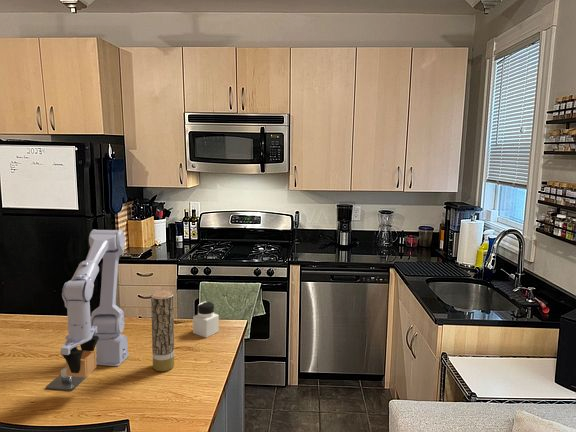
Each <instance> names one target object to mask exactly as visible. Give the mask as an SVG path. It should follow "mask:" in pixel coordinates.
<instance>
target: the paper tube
mask: <svg viewBox="0 0 576 432" xmlns="http://www.w3.org/2000/svg"><path fill="white" fill-rule="evenodd" d="M150 295H151V296H150V298H151V299H150V305H151V341H152V342H151V344H152V345H151V346H152V347H151V348H152V351H151V352H152V368H153V370H154V371H156V372H167V371H170V370H172V369H173V368H174V366H175V318H174V317H175V316H174V314H175V313H174V312H175V310H174V308H175V307H174V299H175V298H174V292H173V291H171V290H164V289H163V290H157V291H153V292H152V293H151V294H150Z"/></svg>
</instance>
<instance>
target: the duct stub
mask: <svg viewBox="0 0 576 432" xmlns="http://www.w3.org/2000/svg"><path fill="white" fill-rule="evenodd" d="M85 379H87V377H75V376H67V373H66V366H65V367H63V368H61V369H60V374H59V375H57V377H55V378H54V379H52V380H51V381H50V382H49V383H48V384H47V385H45V389H47V390H58V391H66V392H67V391H74V390H75V389H76V388H77V387H78V386H79V385H80V384H81V383H82V382H83V381H84V380H85Z"/></svg>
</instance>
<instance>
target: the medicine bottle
mask: <svg viewBox="0 0 576 432" xmlns="http://www.w3.org/2000/svg"><path fill="white" fill-rule="evenodd" d="M214 311H215V304H214V303H213V302H210V301H202V302H200V303H199V304H198V305H197V314H195V315H193V316H192V333H193V335H194V334H195V335H197V336H199V337H203V338H209V337H211V336H212V335H214V334H217V333H218V332H219V331H220V329H219V327H220V325H219V324H220V320H219V317H220V316H219V314H217V313H215V312H214Z"/></svg>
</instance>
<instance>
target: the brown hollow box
mask: <svg viewBox="0 0 576 432" xmlns="http://www.w3.org/2000/svg"><path fill="white" fill-rule="evenodd" d="M96 358H97V356H96V351H95V350H94V351H85V350H84V351H83V353H82V356H81V361H80V371H79V373H71V371H70V368H69V365H68V363H67V361H66V360H65V367H66V373H67V376H75V377H86V378H88V376H89V375H90V374H91V373H92V372H93V371H94V370H95V369H96V368H97V365H96Z"/></svg>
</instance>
